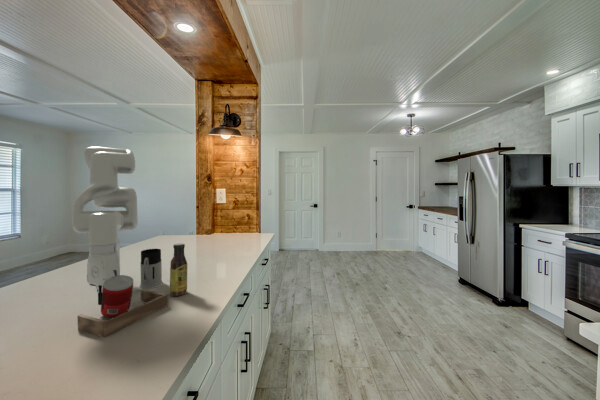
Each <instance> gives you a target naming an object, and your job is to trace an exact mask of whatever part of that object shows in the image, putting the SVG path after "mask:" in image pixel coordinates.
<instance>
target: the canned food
mask: <svg viewBox="0 0 600 400" xmlns="http://www.w3.org/2000/svg"><path fill="white" fill-rule="evenodd" d="M133 289H134V278H133V277H131V276H129V275H125V274H124V275H118V276H113V277H112V278H111V279H109V280H105V282H104V284H103V292H102V302H101V305H100V313H101V315H102V316H103V317H105V318H108V319H112V318H114V317H116V316H118V315H121V314H123V313H125V312H127V311H129V310H130V308H131V303H132V296H133V291H134V290H133Z"/></svg>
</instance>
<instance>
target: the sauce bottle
mask: <svg viewBox="0 0 600 400" xmlns="http://www.w3.org/2000/svg"><path fill="white" fill-rule="evenodd" d="M185 245H186V244H185V243H184V242H183V243H182V242H181V243H174V244H173V257H172V259H171V260H170V268H169V291H170V296H171V297H179V296H183V295H185V294H186V293H187V291H188V261H187V259H186V256H185V248H186V247H185Z"/></svg>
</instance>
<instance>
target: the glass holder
mask: <svg viewBox="0 0 600 400" xmlns="http://www.w3.org/2000/svg"><path fill="white" fill-rule="evenodd" d="M162 274H163V273H162V249H160V248H149V249H148V248H147V249H143V250H141V251H140V284H139V288H140V287H141V288H140V289H145V288H147V289H153V288H152V287H154V288H157V287H156V286H158V287H160V286H162V285H163V284H164V283H163V279H162V276H163V275H162ZM161 284H162V285H161ZM159 285H160V286H159Z"/></svg>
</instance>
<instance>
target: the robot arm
mask: <svg viewBox="0 0 600 400" xmlns="http://www.w3.org/2000/svg"><path fill="white" fill-rule="evenodd" d="M83 157H84V161H85V162H86V165H87V167H88V169H89V186H88V187H86V188H85V189H84V190H82V191H81V192H80V193H79V194H78V195H77V196H76V198H75V200H74V201H73V204H72V210H71V211H72V212H71V213H72V214H71V227H72V230H73V231H74V232H76V233H79V234H87V233H88V243H89V245H88V250H89V251H88V252H89V254H88V257H87V265H86V282H87V283H88V284H90V285H93V286H95V287H96V293H97V299H98V300H97V303H98V304H97V305H99V306H101V302H102V292H103V284H104V282H105V280H109V279H111V278H112V277H113V276H118V275H125V274H124V273H121V251H120V250H121V246H120V243H121V241H120V239H119V238H118V232H126V231H127V232H128V231H134V230H135V229H136V228H137V226H138V197H137V192H136V190H135V189H134V188H133V187H127V186H123V187H122V186H119V185H118V184H119V183H118V182H119V181H118V174H127V175H129V174H133V173H134V172H135V170H136V160H135V156H134V153H133V151H132V150H131V149H129V148H115V147H106V146H87V147H86V148H84V150H83ZM92 201H93V202H94V205H95V206H96V207H97V208H103V209H114V208H115V209H117V208H118V209H119V208H121V209H123V208H124V209H125V210H91V211H90V210H87V211H86V210H85V211H84V208H85V206H86V205H87V204H89V203H90V202H92Z"/></svg>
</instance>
